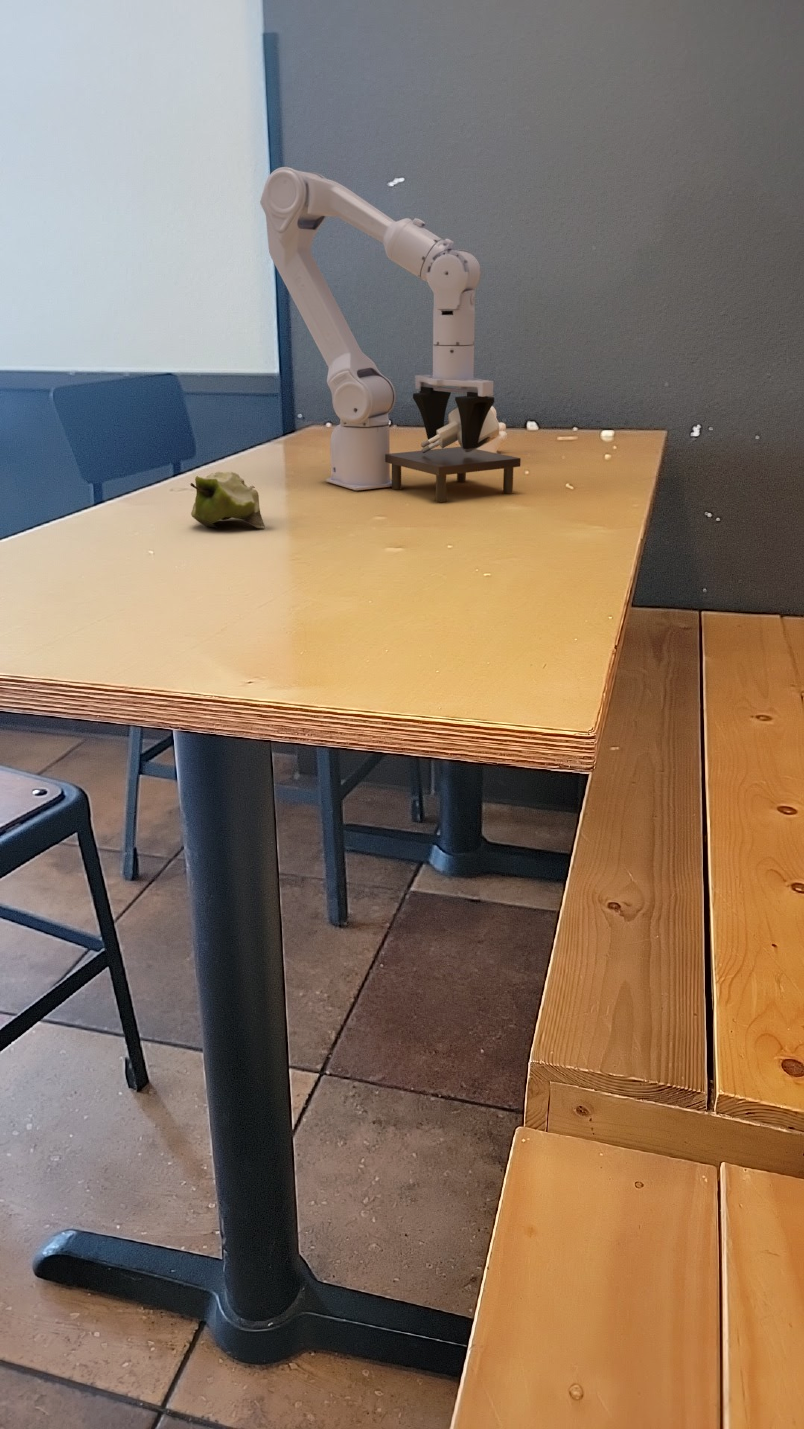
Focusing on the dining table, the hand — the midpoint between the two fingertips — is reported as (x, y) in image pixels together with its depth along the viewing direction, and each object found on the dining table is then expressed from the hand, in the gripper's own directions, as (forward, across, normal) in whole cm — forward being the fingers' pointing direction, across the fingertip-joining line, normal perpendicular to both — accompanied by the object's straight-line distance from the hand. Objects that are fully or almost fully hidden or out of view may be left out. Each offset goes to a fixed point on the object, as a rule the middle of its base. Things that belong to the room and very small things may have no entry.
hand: (452, 445), depth 152 cm
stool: (+6, 0, 0) cm, 6 cm away
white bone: (+7, -21, +24) cm, 33 cm away
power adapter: (+1, +2, +1) cm, 2 cm away
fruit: (+7, 0, -37) cm, 38 cm away
